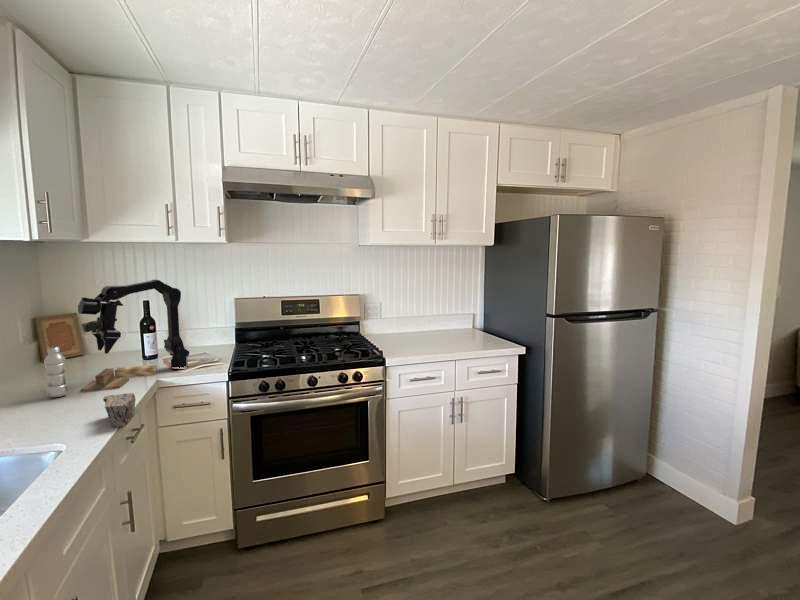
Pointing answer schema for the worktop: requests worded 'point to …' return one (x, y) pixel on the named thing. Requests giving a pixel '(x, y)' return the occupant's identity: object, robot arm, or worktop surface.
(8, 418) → the worktop surface
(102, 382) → the walnut board
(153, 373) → the oak bar
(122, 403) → the stone block
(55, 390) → the plastic bottle
